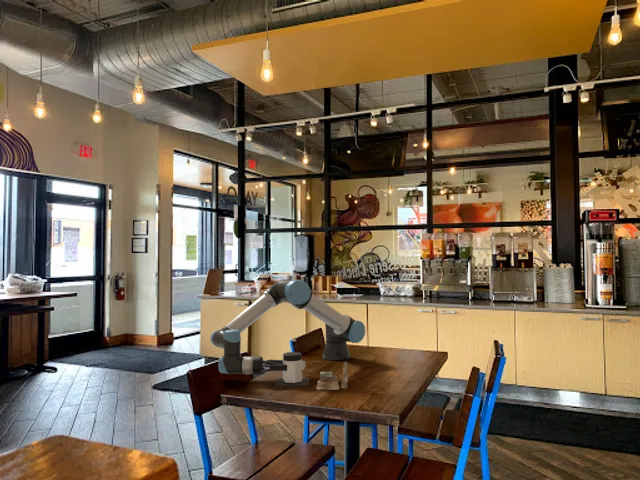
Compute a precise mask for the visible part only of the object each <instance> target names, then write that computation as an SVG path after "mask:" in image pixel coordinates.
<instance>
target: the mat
mask: <svg viewBox="0 0 640 480" xmlns="http://www.w3.org/2000/svg"><path fill="white" fill-rule="evenodd" d="M310 381H311V378H310V377H302V381H301V382H297V383H285V382H284V381H283V377H279V378H278V380H277V382H276V383H275V387H308V386H309V382H310Z"/></svg>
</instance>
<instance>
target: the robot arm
mask: <svg viewBox="0 0 640 480" xmlns="http://www.w3.org/2000/svg"><path fill="white" fill-rule="evenodd" d="M282 303H284V304H285V303H286V304H290V305H291V306H293V307H295V308H296V309H298V310H305V311H306V312H308V313H309V314H311V315H312V316H314V317H315V318H317V319H318V320H320V322H323V323H324V326H325V327H324V328H325V346H324V349H323V353H322V359H323V360H328V361H344V360H345V361H346V360H349V359H350V358H351V353H350V350H349V347H348V344H347V342H348V343H352V344H359V343H360V342H362V341H363V339H364V337H365V336H366V327H365V323H364V322H362V321H361V320H356V319H354V318H353V317H351V316H349V314H341V313H340V312H339V311H338V310H336V309H334V308H333V307H332V306H330V305H329V304H327V303H326V302H325V301H324V300H321V299H320V297H318V296H316V295H315V294H314V292H313V289H311V288H310V286H309V285H308V283H307V282H306V281H304V280H302V279H301V280H300V279H287V278H286V279H280V280H278V281H276V282H275V283H273V284H271V286H269V287H267V289H266V290H264V291H263V292H262V295H261V296H260V297H259V298H257V299H256V300H255V301H254V302H253V303H252V304H250V305H249V306H248V307H246V308H245V309H244V310H243V311H242V312H240V314H238V315H237V316H235V317H234V318H233V319H232V320H231V321H230V322H228V323H227V324H226V325H225V326H223V327H222V328H221V329H219V330H214V331H213V332H212V333H211V334H210V342H211V344H212V345H213V346H215V347H216V348H221V349H223V356H220V357H219V359H218V366H217V367H218V371H219V372H220V374H227V375H232V374H233V375H234V374H235V375H236V374H239V375H241V374H242V375H244V374H245V375H246V376H248V375H251V374H254V375H258V374H259V375H261V374H263V371H264V372H274V371H275V372H283V371H287V365H284V364H283V359H272V358H271V359H267V360H265V361H264V359H263V357H262V356H242V355H241V349H242V348H241V340H242V337H241V333H243V332H244V331H245V330H246V329H248V328H249V327H250V326H251V325H253V324H254V323H255V322H256V321H257V320H259V318H261V317H262V316H264V314H266V312H269V310H270V309H272V308H275V307H277V306H279V305H280V304H282ZM305 368H307V367H306V360H302V363H301V370H302V371H304V370H305Z"/></svg>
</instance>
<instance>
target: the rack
mask: <svg viewBox="0 0 640 480" xmlns="http://www.w3.org/2000/svg"><path fill="white" fill-rule="evenodd" d="M342 370H343V371H342V373H343V374H342V377H341V383H340V384H341V385H340V384H338V387H318V384H316V386H315V387H316V390H317V391H322V390H323V391H324V390H325V391H331V390H332V391H335V390H337V391H339V390H340V387H341V389H348V383H349V379H348V377H349V373H348V370H349V369H348V361H343V368H342Z"/></svg>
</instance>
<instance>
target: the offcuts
mask: <svg viewBox="0 0 640 480" xmlns="http://www.w3.org/2000/svg"><path fill="white" fill-rule="evenodd" d="M319 373H320V374H319V380H317V385H318V387H338V385H339V380H338V375H333V371H320V372H319Z"/></svg>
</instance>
